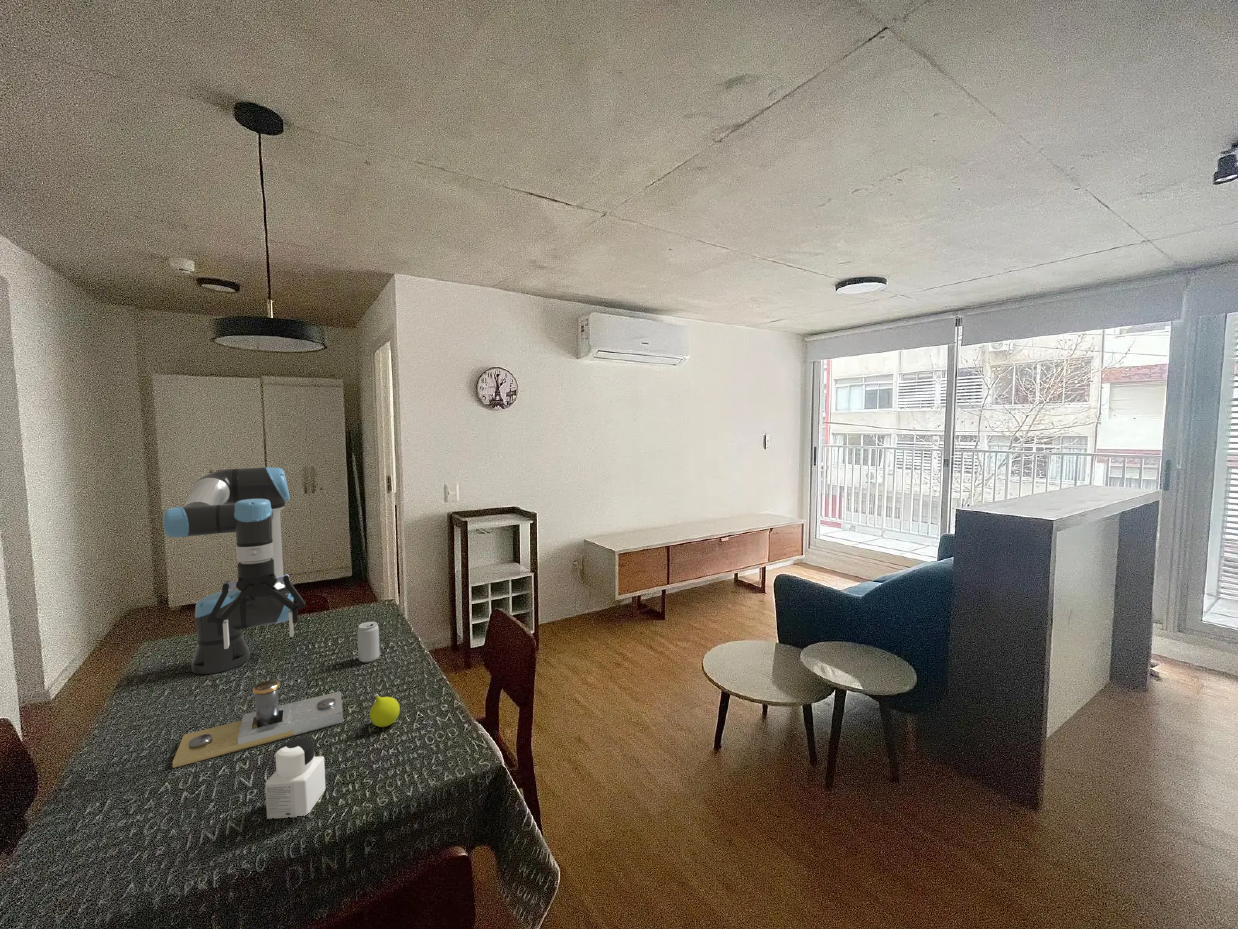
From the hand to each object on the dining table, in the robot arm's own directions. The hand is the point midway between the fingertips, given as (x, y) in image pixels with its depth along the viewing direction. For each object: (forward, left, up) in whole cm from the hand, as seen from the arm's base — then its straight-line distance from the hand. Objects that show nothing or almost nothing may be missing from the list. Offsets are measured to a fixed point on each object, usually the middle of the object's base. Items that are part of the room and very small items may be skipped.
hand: (260, 640), depth 129 cm
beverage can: (-28, +27, -23) cm, 45 cm away
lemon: (+16, +27, -23) cm, 39 cm away
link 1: (+3, -5, -23) cm, 24 cm away
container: (+37, +8, -23) cm, 44 cm away
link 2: (+3, +7, -23) cm, 24 cm away
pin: (+3, +1, -23) cm, 23 cm away
